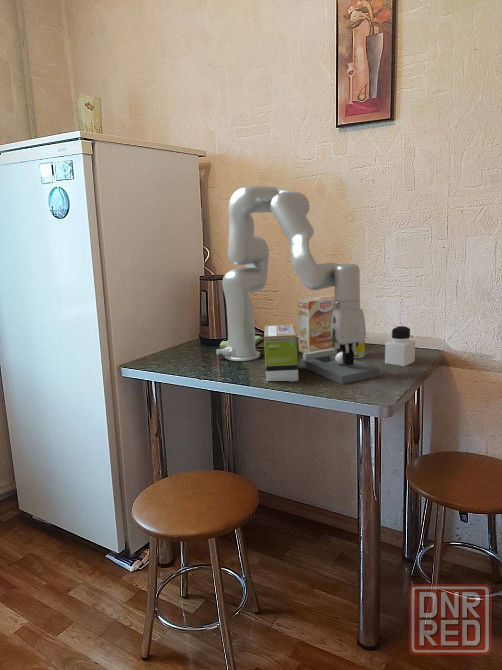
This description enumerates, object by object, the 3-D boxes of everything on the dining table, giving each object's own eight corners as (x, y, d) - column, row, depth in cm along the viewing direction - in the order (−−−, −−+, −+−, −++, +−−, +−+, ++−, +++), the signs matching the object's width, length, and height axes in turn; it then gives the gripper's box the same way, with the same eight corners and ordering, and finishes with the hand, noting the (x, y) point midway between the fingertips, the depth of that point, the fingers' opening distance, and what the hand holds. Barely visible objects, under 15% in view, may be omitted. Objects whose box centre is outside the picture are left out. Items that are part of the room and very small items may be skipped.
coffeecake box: (309, 355, 187) (308, 301, 183) (298, 351, 193) (296, 299, 189) (342, 348, 194) (342, 296, 190) (330, 345, 200) (329, 294, 196)
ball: (339, 355, 162) (333, 351, 165) (338, 367, 163) (332, 362, 167) (351, 354, 163) (344, 349, 167) (349, 365, 165) (343, 361, 168)
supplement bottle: (367, 356, 182) (368, 327, 180) (357, 359, 179) (357, 330, 177) (355, 353, 186) (355, 325, 184) (344, 356, 183) (344, 328, 181)
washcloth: (264, 341, 214) (264, 333, 213) (248, 351, 198) (248, 343, 197) (234, 339, 219) (234, 332, 218) (217, 350, 202) (216, 342, 202)
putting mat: (341, 384, 154) (341, 329, 150) (300, 366, 174) (299, 317, 171) (379, 376, 160) (380, 323, 156) (335, 359, 180) (335, 312, 177)
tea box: (265, 368, 173) (264, 324, 170) (296, 367, 173) (295, 323, 170) (265, 382, 159) (263, 335, 155) (299, 381, 158) (297, 333, 155)
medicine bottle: (414, 361, 173) (415, 326, 171) (404, 366, 168) (405, 330, 166) (395, 358, 178) (395, 324, 176) (384, 363, 173) (385, 327, 171)
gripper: (333, 309, 152) (335, 371, 156) (375, 303, 158) (375, 362, 162) (319, 306, 158) (321, 365, 162) (359, 301, 165) (360, 357, 168)
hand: (348, 364), depth 162 cm, fingers closed
